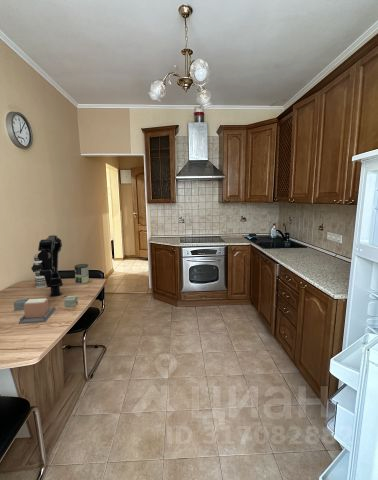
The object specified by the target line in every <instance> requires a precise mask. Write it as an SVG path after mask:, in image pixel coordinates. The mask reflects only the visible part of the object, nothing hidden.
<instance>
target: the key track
mask: <svg viewBox="0 0 378 480" xmlns="http://www.w3.org/2000/svg"><path fill="white" fill-rule="evenodd" d="M55 311H56V308H55V306H52V307H51V308H50V307H49V311H48V312H47V314H46V315H45V316H44V317H36V318H25V313H24V314H23V315H22V316H21V317H20V318H19V321H18V324H19V325H21V324H38V323H46V322H47V321H48V320H49V318H50V317H51V316H52V314H53V313H54V312H55Z"/></svg>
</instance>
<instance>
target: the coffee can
mask: <svg viewBox="0 0 378 480" xmlns="http://www.w3.org/2000/svg"><path fill="white" fill-rule="evenodd" d="M73 267H74V280H75V281H74V282H75V284H76V283H77V284H76V285H83V284H82V283H86V282H88V281H89V282H90V278H89V264H88V263H87V264H86V263H79V264H78V263H77V264H75V265H74V266H73ZM89 282H88V283H89ZM86 284H87V283H86Z"/></svg>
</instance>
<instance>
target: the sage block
mask: <svg viewBox="0 0 378 480" xmlns="http://www.w3.org/2000/svg"><path fill="white" fill-rule="evenodd" d="M78 301H79V300H78V295H68V296H66V297H65V298H64V299H63V302H64V303H63V304H64V305H63V306H64V308H75V307H76V306H77V305H78Z"/></svg>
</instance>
